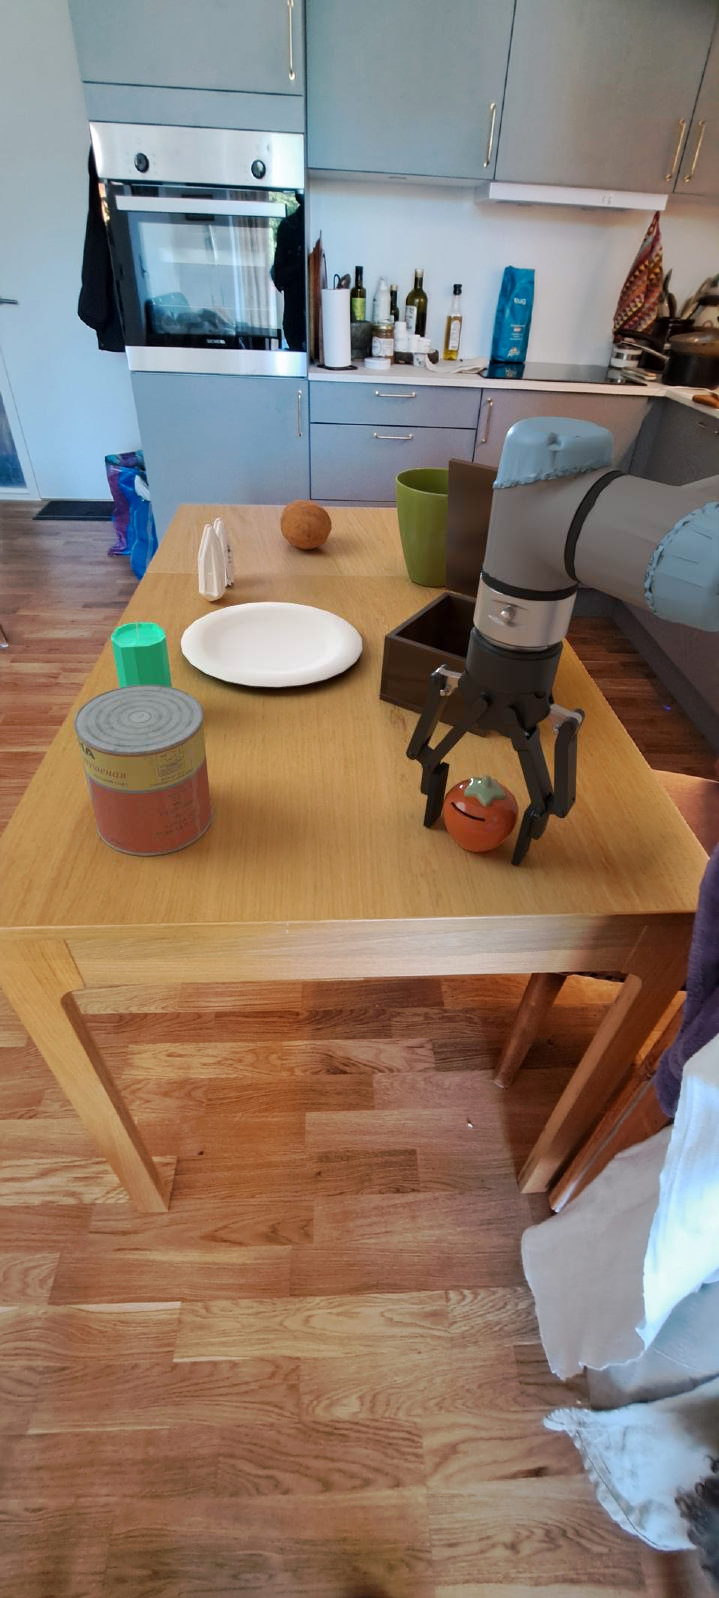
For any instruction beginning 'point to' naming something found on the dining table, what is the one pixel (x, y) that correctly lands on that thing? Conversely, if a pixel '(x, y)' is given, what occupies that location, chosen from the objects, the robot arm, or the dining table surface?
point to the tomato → (480, 813)
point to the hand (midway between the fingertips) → (474, 837)
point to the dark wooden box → (429, 655)
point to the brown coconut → (305, 524)
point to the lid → (467, 523)
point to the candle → (141, 655)
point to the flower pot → (423, 523)
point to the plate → (271, 645)
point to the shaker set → (215, 561)
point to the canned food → (146, 768)
